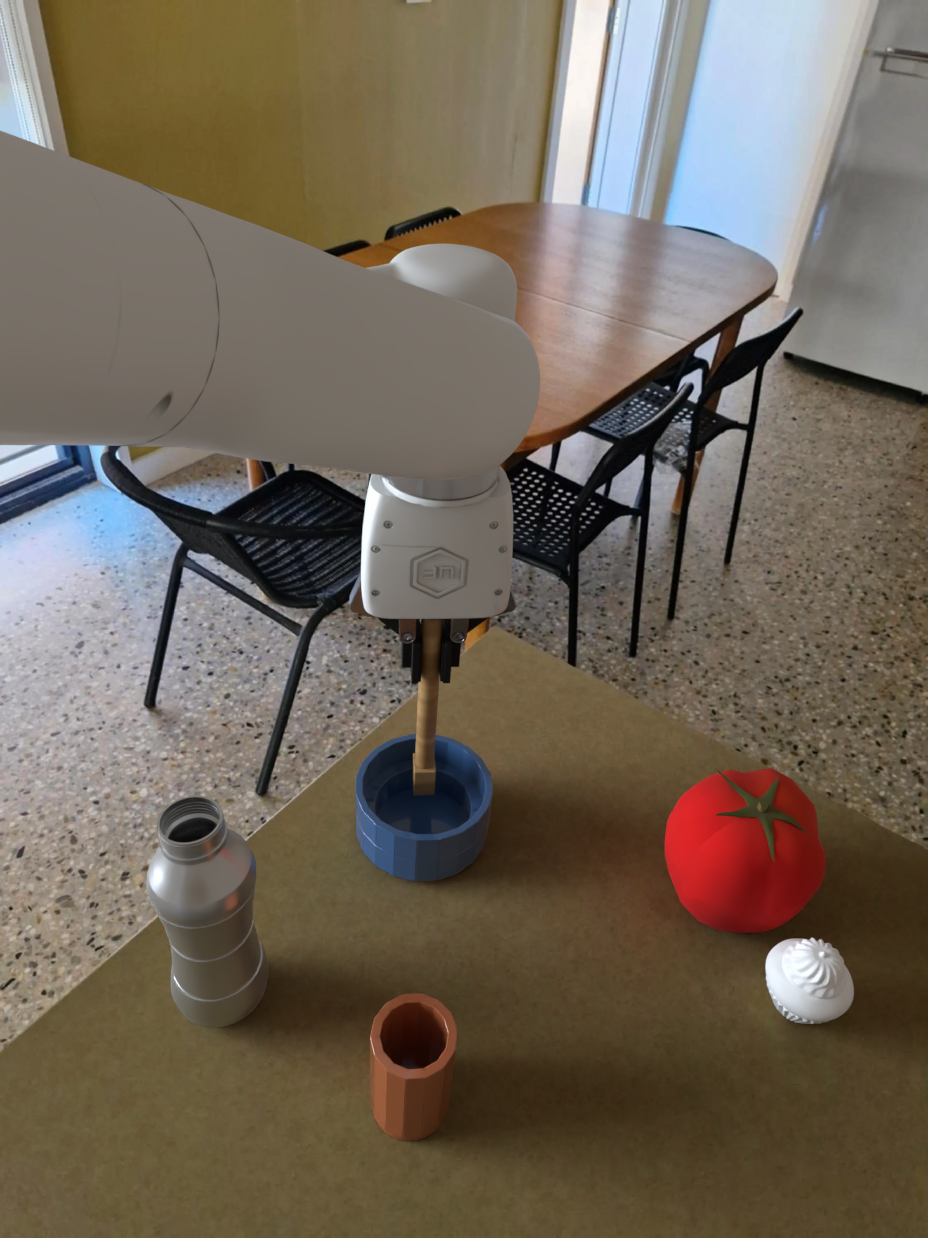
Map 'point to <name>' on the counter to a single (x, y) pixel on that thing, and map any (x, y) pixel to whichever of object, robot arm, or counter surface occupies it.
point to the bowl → (422, 810)
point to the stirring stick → (427, 708)
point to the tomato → (744, 850)
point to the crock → (411, 1065)
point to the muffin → (808, 981)
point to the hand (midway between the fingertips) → (429, 670)
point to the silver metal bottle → (207, 913)
